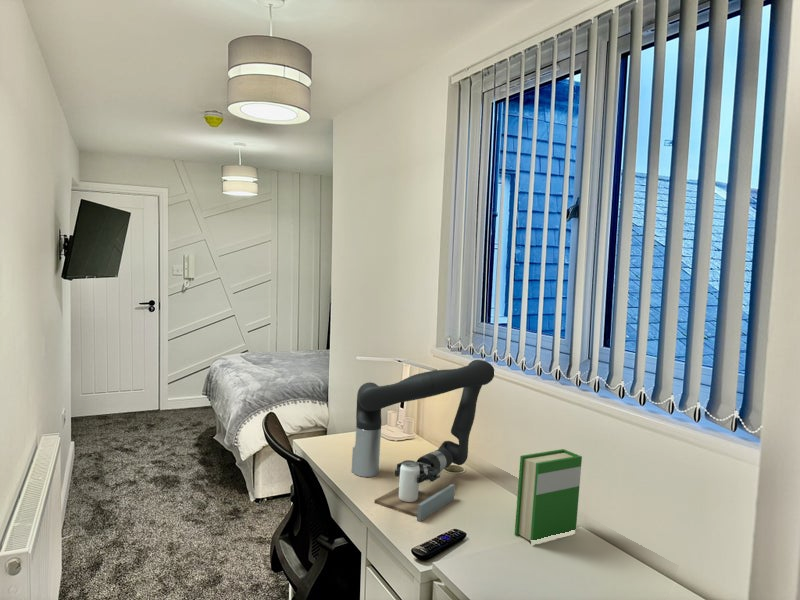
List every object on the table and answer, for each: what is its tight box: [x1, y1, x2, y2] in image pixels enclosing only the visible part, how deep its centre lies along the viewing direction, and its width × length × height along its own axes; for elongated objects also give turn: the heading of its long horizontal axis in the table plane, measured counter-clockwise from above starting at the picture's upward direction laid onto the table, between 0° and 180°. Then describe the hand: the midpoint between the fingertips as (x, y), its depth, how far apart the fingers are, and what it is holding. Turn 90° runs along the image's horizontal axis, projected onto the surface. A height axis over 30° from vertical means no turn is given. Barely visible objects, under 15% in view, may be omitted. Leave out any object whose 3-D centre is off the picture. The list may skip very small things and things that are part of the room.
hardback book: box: [514, 448, 583, 541], centre depth 173 cm, size 18×7×24 cm, turn 121°
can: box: [398, 459, 420, 502], centre depth 191 cm, size 6×6×12 cm
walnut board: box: [374, 486, 434, 518], centre depth 192 cm, size 16×16×1 cm
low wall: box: [416, 483, 456, 522], centre depth 187 cm, size 1×22×5 cm, turn 147°
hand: (406, 476), depth 190 cm, fingers open, 8 cm apart
